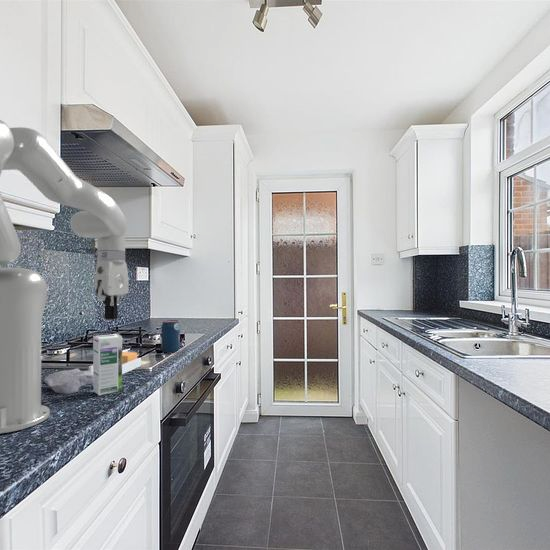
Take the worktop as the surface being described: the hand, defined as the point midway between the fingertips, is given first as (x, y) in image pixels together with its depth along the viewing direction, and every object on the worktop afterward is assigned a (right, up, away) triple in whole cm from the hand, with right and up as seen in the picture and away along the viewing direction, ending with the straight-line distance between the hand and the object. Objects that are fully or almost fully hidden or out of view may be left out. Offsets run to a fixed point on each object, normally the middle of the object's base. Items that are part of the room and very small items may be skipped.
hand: (111, 318), depth 106 cm
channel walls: (0, -17, +2) cm, 17 cm away
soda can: (+8, -17, +33) cm, 38 cm away
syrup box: (+5, -17, -13) cm, 23 cm away
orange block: (+1, -16, +7) cm, 17 cm away
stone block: (-7, -18, -10) cm, 21 cm away
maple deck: (+1, -17, +5) cm, 18 cm away
